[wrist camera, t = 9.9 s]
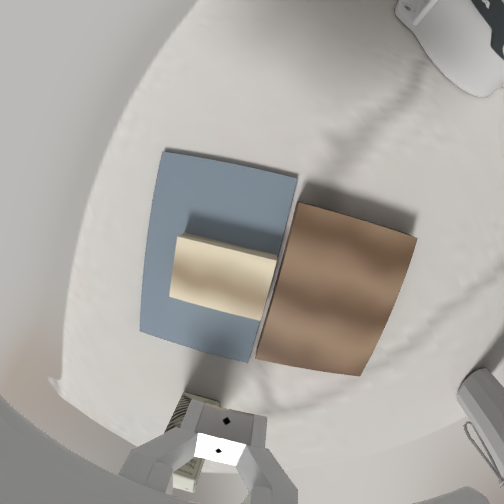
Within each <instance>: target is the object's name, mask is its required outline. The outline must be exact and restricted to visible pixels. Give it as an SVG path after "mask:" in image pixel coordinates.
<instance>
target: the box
mask: <svg viewBox="0 0 504 504" xmlns="http://www.w3.org/2000/svg"><path fill="white" fill-rule="evenodd" d="M192 399H194V400H198V401H201V402H204V403H208V404H211V405H215V406H218V407H219V402H217V401H213V400H210V399H207V398H203V397H200V396H196V395H193V394H189V393H185V392H184V393H183V394H182V396H181V399H180V401H179V403H178V405H177V407H176V409H175V411H174V413H173V416H172V418H171V420H170V422H169V424H168V426H167V428H166V430H165V432H164V433H166V432H168V431H170V430H172V429H174V428H175V427H178V428H180V427H181V424H182V422H183V419H184V417H185V414H186V412H187V409H188V407H189V404H190V402H191V400H192ZM204 460H205V458H201V457H197V456H194V458H192V459H191V460H190V461H188V462H187V463H185V464H184V465H183V466H181V467H180V468H178V469H177V470H176V471H174V472H173V487H174V488H178V489H182V490H185V491H189V492H193V493H194V492H195V489H196V485H197V482H198V479H199V476H200V472H201V469H202V466H203V463H204Z"/></svg>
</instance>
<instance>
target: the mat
mask: <svg viewBox="0 0 504 504" xmlns="http://www.w3.org/2000/svg"><path fill="white" fill-rule="evenodd" d="M296 182H297V178H293V177H289V176H285V175H281V174H277V173H273V172H268V171H264V170H260V169H255V168H251V167H246V166H241V165H237V164H232V163H227V162H222V161H217V160H211V159H206V158H200V157H194V156H188V155H182V154H176V153H169V152H162V155H161V160H160V165H159V169H158V174H157V180H156V185H155V190H154V196H153V202H152V208H151V214H150V221H149V228H148V235H147V243H146V252H145V261H144V271H143V282H142V295H141V312H140V331H141V332H144V333H147V334H149V335H152V336H155V337H158V338H161V339H164V340H167V341H170V342H173V343H177V344H180V345H183V346H186V347H190V348H193V349H196V350H200V351H203V352H207V353H211V354H214V355H218V356H222V357H226V358H230V359H234V360H238V361H242V362H246V363H248V361H249V357H250V354H251V351H252V347H253V344H254V340H255V337H256V333H257V330H258V326H259V323H260V321H259V320H255V319H251V318H247V317H243V316H238V315H234V314H230V313H227V312H223V311H219V310H215V309H211V308H208V307H204V306H200V305H197V304H193V303H189V302H186V301H182V300H179V299H176V298H172V297H169V294H170V285H171V277H172V270H173V263H174V256H175V249H176V242H177V236H179V235H181V234H183V233H188V234H192V235H196V236H201V237H205V238H209V239H213V240H217V241H221V242H226V243H230V244H234V245H238V246H242V247H246V248H250V249H255V250H259V251H263V252H267V253H271V254H275V255H277V257H278V253H279V250H280V246H281V242H282V238H283V234H284V230H285V226H286V222H287V219H288V215H289V211H290V207H291V203H292V199H293V195H294V190H295V186H296Z"/></svg>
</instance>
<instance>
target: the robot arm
mask: <svg viewBox="0 0 504 504" xmlns="http://www.w3.org/2000/svg"><path fill="white" fill-rule="evenodd" d="M395 14H396V16H397V17H398V18H399V19H400V20H401V21H402V22H403V23H404V24H405V25H406V26H407V27H408V28H409V29H410V30H411V31H412V32H413V33H414V34H415V36H416V37H417V39H418V41H419V42H420V44H421V46H422V47H423V49H424V50H425V52H426V53H427V55H428V56H429V57H430V59H431V60H432V61H433V63H434V64H435V65H436V66H437V67H438V68H439V70H440V71H441V72H442V73H443V74H444V75H445V76H446V77H447V78H448V79H450V80H451V81H452V82H453V83H454V84H455V85H457V86H458V87H459V88H461V89H462V90H464V91H466V92H467V93H469V94H472V95H474V96H477V97H488V96H490V95H492V94H493V93H494V92H495V91H496V90H497V89H499V88H500V87H504V0H398V2H397V5H396V8H395ZM266 427H267V417H265V416H259V415H254V414H250V413H245V412H240V411H235V410H231V409H226V408H222V407H218V406H215V405H211V404H208V403H204V402H201V401H198V400H194V399H192V400H191V402H190V404H189V407H188V409H187V412H186V414H185V417H184V419H183V422H182V424H181V427H180V428H178V427H175V428H174V429H172V430H170V431H168V432H166V433H164V434H163V435H161V436H159V437H157V438H155V439H153V440H151V441H149V442H147V443H145V444H143V445H141V446H139V447H137V448H135V449H133V450H131V452H130V454H129V455H128V457H127V459H126V461H125V463H124V465H123V467H122V469H121V470H120V473H119V474H116V473H114V472H111V471H109V470H107V469H105V468H103V467H101V466H99V465H98V464H95V463H93V462H92V461H90V460H88V459H86V458H85V457H83V456H81V455H79V454H78V453H76V452H74V451H73V450H71V449H69V448H68V447H66V446H65V445H63V444H61V443H60V442H59V441H57V440H56V439H54V438H52V437H51V436H50V435H48V434H47V433H46V432H44V431H43V430H41V429H40V428H39V427H37V426H36V425H35V424H33V423H32V422H31V421H30V420H28V419H27V418H26V417H24V416H23V415H22V414H21V413H20V412H18V411H17V410H16V409H15V408H14V407H13V406H11V405H10V404H9V403H8V402H7V401H6V400H5V399H4V398H3V397H1V396H0V504H201V503H197V502H193V501H189V500H186V499H182V498H179V497H176V496H172V495H171V494H172V491H173V472H174V471H176V470H177V469H178V468H180V467H181V466H183V465H184V464H185V463H187V462H188V461H190V460H191V459H192V458H194V456H197V457H201V458H205V459H209V460H213V461H218V462H222V463H226V464H230V465H234V466H236V468H237V470H238V472H239V474H240V476H241V478H242V480H243V482H244V484H245V486H246V488H247V490H248V492H249V494H248V495H247V497H246V498H245V499H244V501H243V502H242V503H241V504H298V489H297V488H296V487H295V485H294V484H293V483H292V481H291V480H290V479H289V477H288V476H287V474H286V473H285V472H284V470H283V469H282V468H281V466H280V465H279V463H278V462H277V460H276V459H275V458H274V456H273V455H272V453H271V452H270V450H269V449H267V448H265V440H266ZM414 504H490V503H489V501H488V499H487V498H486V497H485V496H484V495H482V494H481V493H479V492H478V491H477V490H475V489H473V488H471V487H463V488H460V489H458V490H455V491H452V492H450V493H447V494H444V495H441V496H438V497H435V498H432V499H428V500H425V501H421V502H417V503H414Z"/></svg>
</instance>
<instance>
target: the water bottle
mask: <svg viewBox="0 0 504 504" xmlns="http://www.w3.org/2000/svg"><path fill="white" fill-rule="evenodd" d="M457 401H458V402H459V404H460V405H461V407H462V408H463V410H464V411H465V413H466V414H467V416H468V417H469V419H470V421H471V422H466V423H465V424H464V425H463V426H464V430H465V432H466V435H467V437H468V438H469V440H470V441H471V442H472V444H473V445H474V446H475V447H476V449H477V450H478V451H479V453H480V454H481V455H482V456H483V458H484V459H485V460H486V462H487V463H488V464H489V466H490V467H491V469H492V470H493V471H494V473H495V474H496V475H497V477H498V478H499V484H500V485H499V486H500V487H502V486H504V387H503V386H502V385H501V384H500V383H499V382H498V380H497V379H496V378H495V377H494V376H493V375H492V374H491V372H490V371H489V370H488V369H487V368H482V369H478V370H476V371H475V372H473V373H472V374H470V375H469V376H468V377H467V378H466V380H465V381H464V382H463V383H462V385H461V386H460V388H459V390H458V395H457ZM468 423H469V424H471V425H472V426H473V428H474V430H475V432H476V433H477V435H478V437H479V439H480V440H481V443H482V444H483V446H484V448H485V450H486V452H487V454H488V456H489V458H490V460H491V461H492V464H493V465H494V467H493V466H492V464H491V463H490V462H489V460H488V459H487V458H486V456H485V455H484V454H483V452H482V451H481V450H480V448H479V447H478V446H477V444H476V443H475V442H474V440H473V439H472V438H471V437H470V434H469V432H468V430H467V426H466V425H467V424H468ZM495 463H496V464H495ZM496 465H497V466H496ZM497 467H498V468H497ZM494 468H495V469H494ZM498 469H499V471H500V473H501V475H502V477H501V475H500V473H499V471H498Z"/></svg>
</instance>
